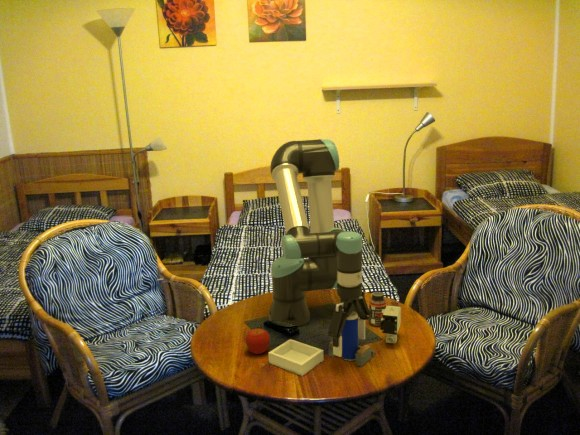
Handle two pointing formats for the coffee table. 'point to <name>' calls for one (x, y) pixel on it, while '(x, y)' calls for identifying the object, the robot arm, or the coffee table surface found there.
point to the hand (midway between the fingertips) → (349, 346)
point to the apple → (257, 340)
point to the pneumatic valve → (391, 322)
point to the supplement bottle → (376, 308)
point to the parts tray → (296, 357)
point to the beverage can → (350, 337)
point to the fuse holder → (357, 354)
